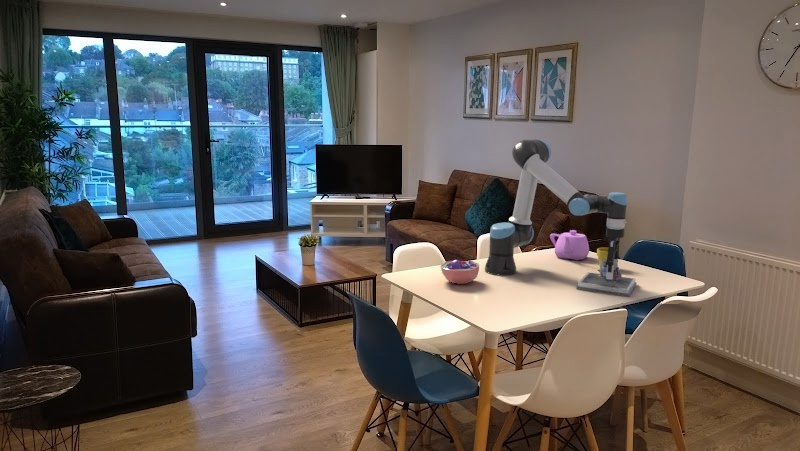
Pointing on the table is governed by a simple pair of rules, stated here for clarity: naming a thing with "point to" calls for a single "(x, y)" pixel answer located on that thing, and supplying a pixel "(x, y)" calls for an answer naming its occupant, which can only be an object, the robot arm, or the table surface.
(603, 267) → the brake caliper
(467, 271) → the cell model
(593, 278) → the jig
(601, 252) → the plant pot
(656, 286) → the table surface
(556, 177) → the robot arm
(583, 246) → the teapot
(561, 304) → the table surface
